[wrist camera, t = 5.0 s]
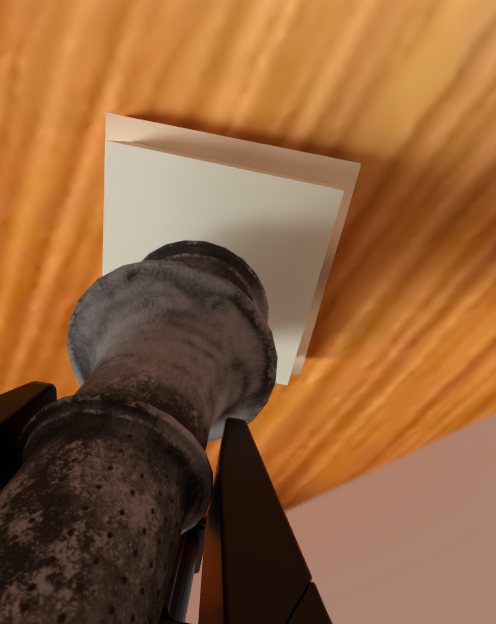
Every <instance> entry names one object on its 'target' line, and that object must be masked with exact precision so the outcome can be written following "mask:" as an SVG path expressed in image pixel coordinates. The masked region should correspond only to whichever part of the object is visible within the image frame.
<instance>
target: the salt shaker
mask: <svg viewBox="0 0 496 624" xmlns="http://www.w3.org/2000/svg"><path fill="white" fill-rule="evenodd" d="M268 312H269V306H268V302H267V297H266V293H265V289H264V287H263V285H262V283H261V282H260V280H259V278H258V276H257V274H256V272H255V271H254V270H253V269H252V268H251V267H250V266H249V265H248V264H247V263H246V262H245V261H244V260H243V259H242V258H241V257H239V256H238V255H236V254H235V253H233V252H231V251H230V250H228V249H227V248H225V247H222V246H219V245H216V244H213V243H209V242H206V241H192V240H183V241H179V242H174V243H170V244H166V245H164V246H162V247H160V248H158V249H156V250H155V251H153V252H151V253H149V254H148V255H147V256H146V257H145V258H144V259H143V260H142V261H141V262H137V263H132V264H127V265H123V266H121V267H119V268H117V269H115V270H113V271H112V272H110V273H108V274H106V275H104V276H102V277H101V278H99V279H97V280H96V281H95V282H94V283H93V284H92V286H91V287H90V288H89V289H88V290H87V291H86V292H85V293H84V294H83V295H82V296H81V297H80V298H79V300H78V302H77V305H76V307H75V309H74V311H73V313H72V316H71V318H70V320H69V328H68V337H67V348H68V353H69V358H70V363H71V368H72V370H73V372H74V374H75V376H76V378H77V380H78V382H79V384H80V386H81V387H80V388H79V390H78V391H77V392H76V393H75V394H74V395H72V396H66V397H63V398H61V399H58V400H56V401H54V402H52V403H50V404H48V405H46V406H44V407H42V408H41V409H40V410H39V411H38V412H37V413H36V414H35V415H34V416H33V417H32V418H31V419H30V420H29V421H28V422H27V423H26V424H25V426H24V429H23V431H22V433H21V435H20V438H19V440H18V444H17V463H18V466H19V470H18V471H17V472H16V474H15V475H14V476H13V477H12V479H11V480H10V481H9V482H8V484H7V485H6V486H5V487H4V489H3V490H2V491H1V492H0V624H159V621H160V617H161V613H162V609H163V605H164V600H165V596H166V592H167V588H168V584H169V580H170V576H171V572H172V568H173V564H174V560H175V556H176V552H177V548H178V544H179V540H180V536H181V534H183V533H184V532H186V531H187V530H189V529H191V528H192V527H194V526H195V525H196V524H197V522H198V521H199V520H200V519H201V518H202V517H203V516H204V514H205V513H206V511H207V508H208V506H209V503H210V501H211V497H212V491H213V472H212V469H211V466H210V463H209V460H208V457H207V454H206V452H205V450H206V446H207V442H211V441H214V440H217V439H220V438H222V435H223V430H224V425H225V420H226V418H228V417H232V418H237V419H242V420H245V421H246V423H247V424H248V423H250V422H251V421H253V419H254V418H255V417H256V416H257V415H258V413H259V412H260V411H261V410H262V409H263V407H264V406H265V405H266V404H267V402H268V400H269V397H270V395H271V392H272V390H273V388H274V385H275V383H276V372H277V360H278V356H277V352H276V347H275V343H274V339H273V334H272V331H271V329H270V327H269V326H268Z"/></svg>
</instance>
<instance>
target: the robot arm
mask: <svg viewBox="0 0 496 624" xmlns="http://www.w3.org/2000/svg"><path fill="white" fill-rule="evenodd" d="M56 400H57V392H56V387H55V386H54V385H53V384H50V383H45V382H39V381H33V382H30V383H27V384H25V385H23V386H20V387H18V388H15V389H13V390H10V391H8V392H6V393H3V394H1V395H0V492H1V491H2V490H3V489H4V487H5V486H6V485H7V484H8V482H9V481H10V480H11V479H12V477H13V476H14V475H15V474H16V472H17V471H18V470H19V466H18V463H17V444H18V440H19V438H20V435H21V433H22V431H23V429H24V426H25V424H26V423H27V422H28V421H29V420H30V419H31V418H32V417H33V416H34V415H35V414H36V413H37V412H38V411H39V410H40V409H41V408H42V407H44V406H46V405H48V404H50V403H52V402H54V401H56ZM202 555H203V565H202V578H201V593H200V607H199V622H198V624H332V622H331V619H330V617H329V615H328V613H327V611H326V608H325V606H324V603H323V601H322V599H321V597H320V594H319V592H318V589H317V587H316V585H315V583H314V582H311V580H312V576H311V574H310V571H309V569H308V566H307V564H306V562H305V559H304V557H303V555H302V552H301V550H300V547H299V545H298V543H297V540H296V538H295V536H294V534H293V531H292V529H291V526H290V524H289V522H288V519H287V517H286V515H285V512H284V510H283V507H282V505H281V503H280V500H279V498H278V496H277V493H276V491H275V489H274V486H273V484H272V482H271V479H270V477H269V475H268V472H267V470H266V467H265V465H264V463H263V460H262V458H261V456H260V453H259V451H258V449H257V446H256V444H255V442H254V439H253V437H252V435H251V432H250V430H249V427H248V425H247V423H246V421H245V420H242V419H237V418H232V417H228V418H226V420H225V425H224V430H223V435H222V440H221V445H220V450H219V456H218V461H217V466H216V472H215V477H214V483H213V491H212V497H211V501H210V504H209V510H208V515H207V520H206V519H204V518H201V519H200V520H199V521H198V522H197V524H196V525H195V526H194V527H192V528H191V529H189V530H187V531H186V532H184V533H183V534H181V536H180V540H179V544H178V548H177V552H176V556H175V560H174V564H173V568H172V572H171V576H170V580H169V584H168V588H167V592H166V596H165V600H164V605H163V609H162V613H161V617H160V621H159V624H189V623H185V619H186V613H187V608H188V603H189V597H190V592H191V587H192V581H193V576H194V574H195V573H198V572H199V570H200V565H201V560H202Z"/></svg>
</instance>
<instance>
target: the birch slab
mask: <svg viewBox="0 0 496 624" xmlns="http://www.w3.org/2000/svg"><path fill="white" fill-rule="evenodd" d="M106 140H110V141H127V142H134V143H139V144H143V145H148V146H153V147H158V148H162V149H167V150H172V151H177V152H181V153H186V154H191V155H196V156H200V157H205V158H210V159H215V160H219V161H224V162H229V163H234V164H238V165H243V166H248V167H252V168H257V169H262V170H267V171H271V172H276V173H281V174H286V175H290V176H295V177H300V178H305V179H309V180H314V181H319V182H324V183H328V184H333V185H335V186H337V187H339V188H341V189H342V190H344V193H343V196H342V200H341V203H340V207H339V210H338V214H337V217H336V221H335V224H334V227H333V231H332V234H331V238H330V241H329V245H328V248H327V251H326V255H325V258H324V262H323V265H322V269H321V272H320V275H319V279H318V282H317V286H316V289H315V293H314V296H313V299H312V303H311V306H310V310H309V313H308V317H307V320H306V323H305V327H304V330H303V334H302V337H301V341H300V344H299V347H298V351H297V354H296V358H295V361H294V365H293V368H292V371H291V374H293V375H298V376H300V374H301V371H302V367H303V364H304V361H305V357H306V354H307V350H308V347H309V343H310V340H311V336H312V333H313V330H314V326H315V323H316V319H317V316H318V312H319V309H320V305H321V302H322V299H323V295H324V292H325V288H326V285H327V281H328V278H329V274H330V271H331V268H332V264H333V261H334V257H335V254H336V250H337V247H338V243H339V240H340V236H341V233H342V230H343V226H344V223H345V219H346V216H347V212H348V209H349V205H350V202H351V199H352V195H353V192H354V188H355V185H356V181H357V178H358V174H359V171H360V168H361V164H362V163H357V162H352V161H347V160H342V159H337V158H332V157H326V156H321V155H316V154H311V153H306V152H301V151H296V150H291V149H286V148H281V147H276V146H271V145H266V144H261V143H256V142H251V141H246V140H241V139H236V138H231V137H226V136H221V135H216V134H211V133H206V132H201V131H196V130H191V129H186V128H181V127H176V126H171V125H166V124H161V123H156V122H151V121H146V120H141V119H136V118H131V117H126V116H121V115H116V114H111V113H106Z"/></svg>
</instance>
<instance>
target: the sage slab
mask: <svg viewBox="0 0 496 624" xmlns="http://www.w3.org/2000/svg"><path fill="white" fill-rule="evenodd" d="M343 193H344V190H342V189H341V188H339V187H337V186H335V185H333V184H328V183H324V182H319V181H314V180H309V179H305V178H300V177H295V176H290V175H286V174H281V173H276V172H271V171H267V170H262V169H257V168H252V167H248V166H243V165H238V164H234V163H229V162H224V161H219V160H215V159H210V158H205V157H200V156H196V155H191V154H186V153H181V152H177V151H172V150H167V149H162V148H158V147H153V146H148V145H143V144H139V143H134V142H127V141H110V140H105V179H104V227H103V274H102V276H104V275H106V274H108V273H110V272H112V271H113V270H115V269H117V268H119V267H121V266H123V265H127V264H132V263H137V262H141V261H142V260H143V259H144V258H145V257H146V256H147V255H148V254H149V253H151V252H153V251H155V250H156V249H158V248H160V247H162V246H164V245H166V244H170V243H174V242H179V241H183V240H192V241H206V242H209V243H213V244H216V245H219V246H222V247H225V248H227V249H228V250H230V251H231V252H233V253H235V254H236V255H238V256H239V257H241V258H242V259H243V260H244V261H245V262H246V263H247V264H248V265H249V266H250V267H251V268H252V269H253V270H254V271H255V272H256V274H257V276H258V278H259V280H260V282H261V283H262V285H263V287H264V289H265V293H266V297H267V302H268V306H269V312H268V326H269V327H270V329H271V331H272V334H273V339H274V343H275V347H276V352H277V356H278V360H277V372H276V383H278V384H283V385H288V382H289V378H290V375H291V371H292V368H293V365H294V361H295V358H296V354H297V351H298V347H299V344H300V341H301V337H302V334H303V330H304V327H305V323H306V320H307V317H308V313H309V310H310V306H311V303H312V299H313V296H314V293H315V289H316V286H317V282H318V279H319V275H320V272H321V269H322V265H323V262H324V258H325V255H326V251H327V248H328V245H329V241H330V238H331V234H332V231H333V227H334V224H335V221H336V217H337V214H338V210H339V207H340V203H341V200H342V196H343Z"/></svg>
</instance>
